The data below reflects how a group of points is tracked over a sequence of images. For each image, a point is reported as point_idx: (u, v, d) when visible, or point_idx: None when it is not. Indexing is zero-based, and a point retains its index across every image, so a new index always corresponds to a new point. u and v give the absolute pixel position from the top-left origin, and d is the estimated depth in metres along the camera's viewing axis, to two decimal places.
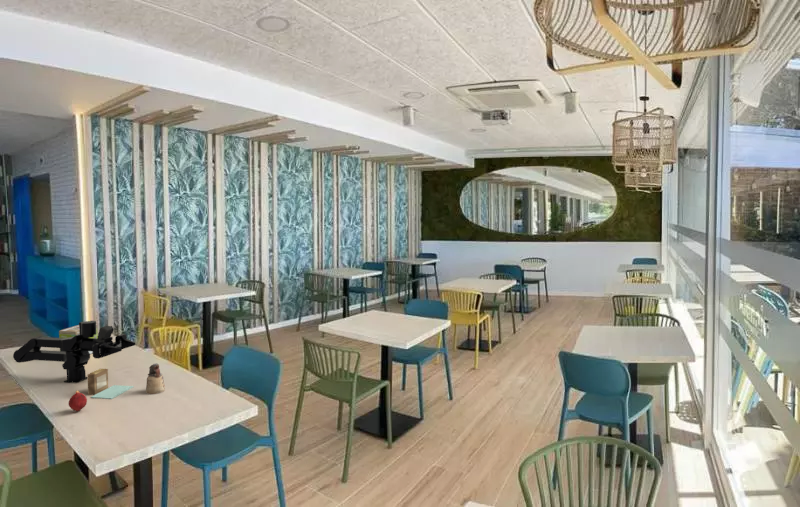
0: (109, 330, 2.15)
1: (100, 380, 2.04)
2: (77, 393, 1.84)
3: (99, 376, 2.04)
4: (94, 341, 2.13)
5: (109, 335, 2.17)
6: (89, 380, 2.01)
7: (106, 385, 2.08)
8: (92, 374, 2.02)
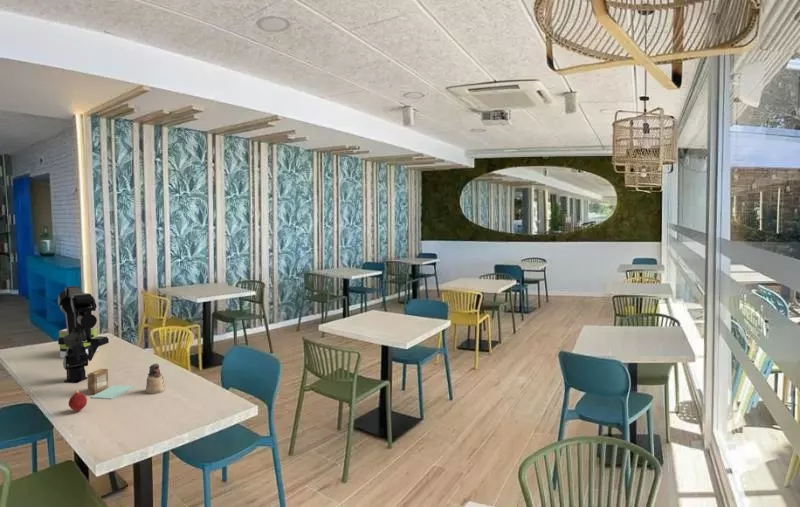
0: None
1: (100, 380, 2.04)
2: (77, 393, 1.84)
3: (99, 376, 2.04)
4: None
5: None
6: (89, 380, 2.01)
7: (106, 385, 2.08)
8: (92, 374, 2.02)
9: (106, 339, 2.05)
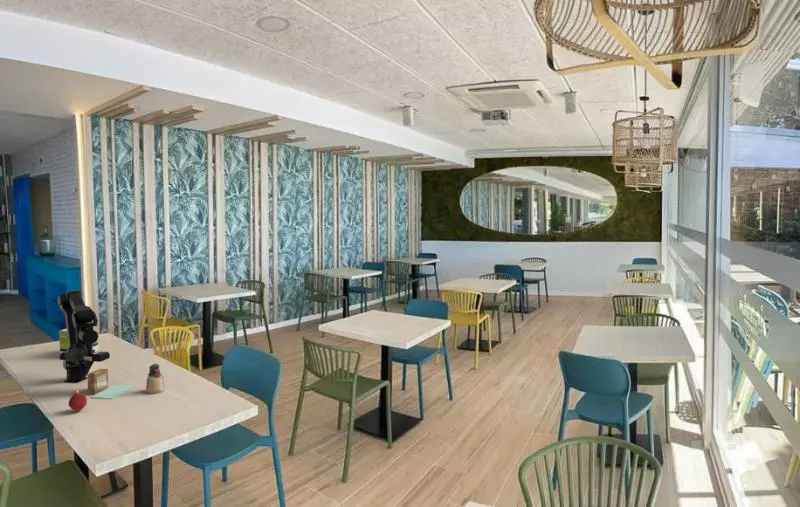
0: None
1: (100, 380, 2.04)
2: (77, 393, 1.84)
3: (99, 376, 2.04)
4: None
5: None
6: (89, 380, 2.01)
7: (106, 385, 2.08)
8: (92, 374, 2.02)
9: (107, 354, 2.05)
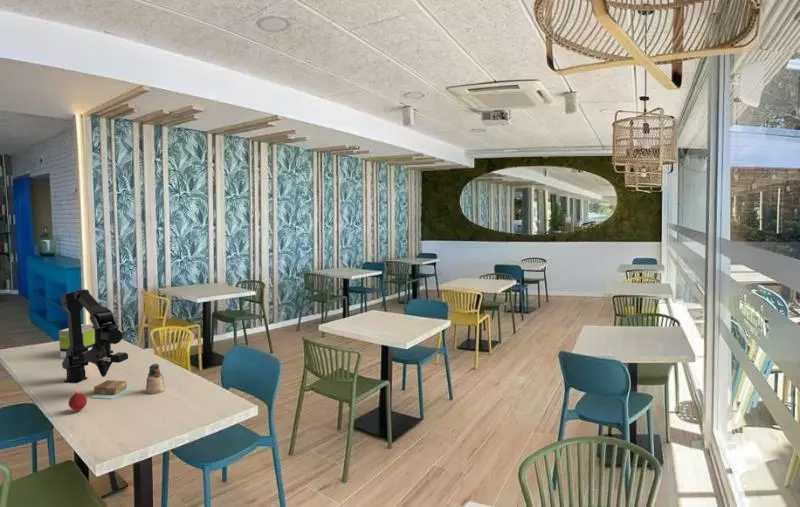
0: None
1: None
2: (77, 393, 1.84)
3: None
4: None
5: None
6: (108, 389, 2.01)
7: None
8: (114, 391, 2.01)
9: (126, 355, 2.05)
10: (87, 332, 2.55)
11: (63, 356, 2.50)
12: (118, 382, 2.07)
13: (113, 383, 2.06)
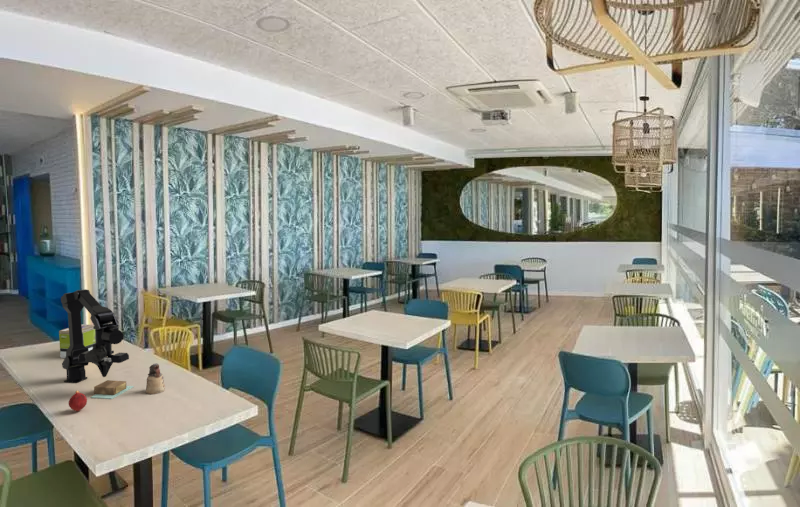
0: None
1: None
2: (77, 393, 1.84)
3: None
4: None
5: None
6: (108, 389, 2.01)
7: None
8: (114, 391, 2.01)
9: (126, 355, 2.05)
10: (87, 332, 2.55)
11: (63, 356, 2.50)
12: (118, 382, 2.07)
13: (113, 383, 2.06)
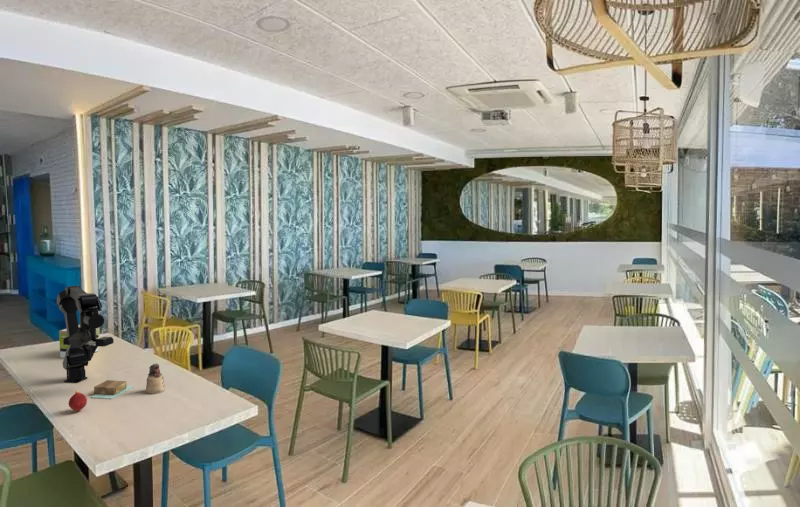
0: None
1: None
2: (77, 393, 1.84)
3: None
4: None
5: None
6: (108, 389, 2.01)
7: None
8: (114, 391, 2.01)
9: (111, 339, 2.05)
10: None
11: (63, 356, 2.50)
12: (118, 382, 2.07)
13: (113, 383, 2.06)
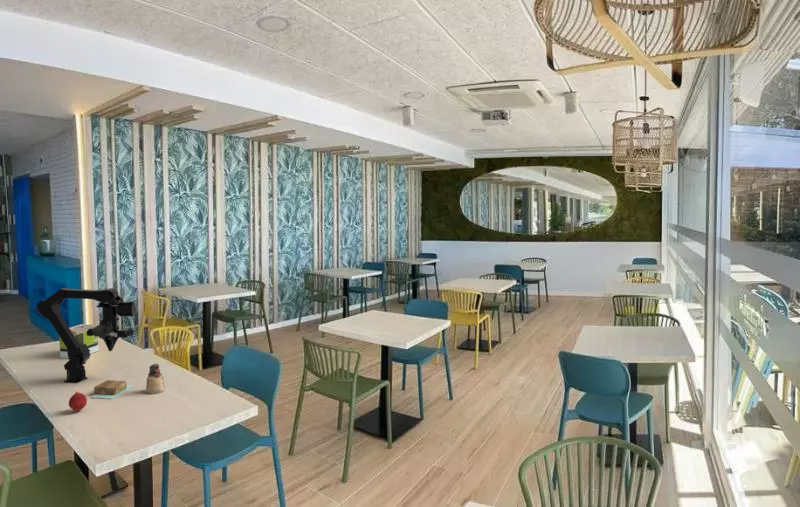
0: None
1: None
2: (77, 393, 1.84)
3: None
4: None
5: None
6: (108, 389, 2.01)
7: None
8: (114, 391, 2.01)
9: (131, 331, 2.20)
10: None
11: (63, 356, 2.50)
12: (118, 382, 2.07)
13: (113, 383, 2.06)
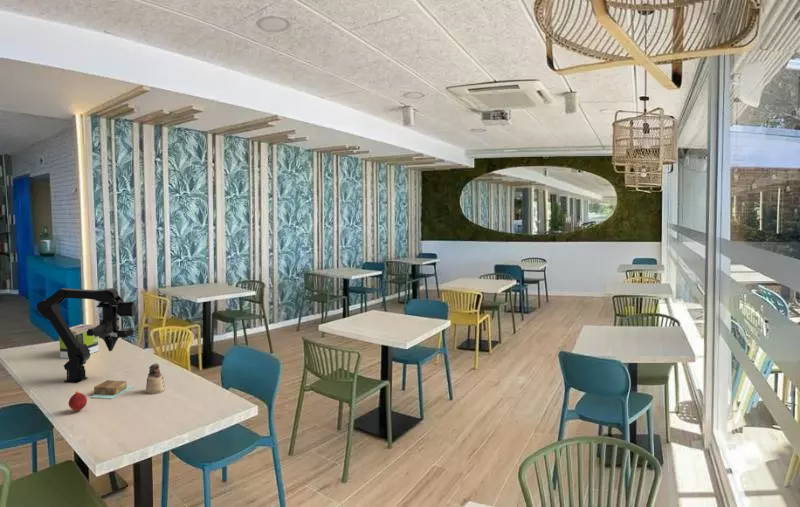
0: None
1: None
2: (77, 393, 1.84)
3: None
4: None
5: None
6: (108, 389, 2.01)
7: None
8: (114, 391, 2.01)
9: (131, 331, 2.20)
10: None
11: (63, 356, 2.50)
12: (118, 382, 2.07)
13: (113, 383, 2.06)
